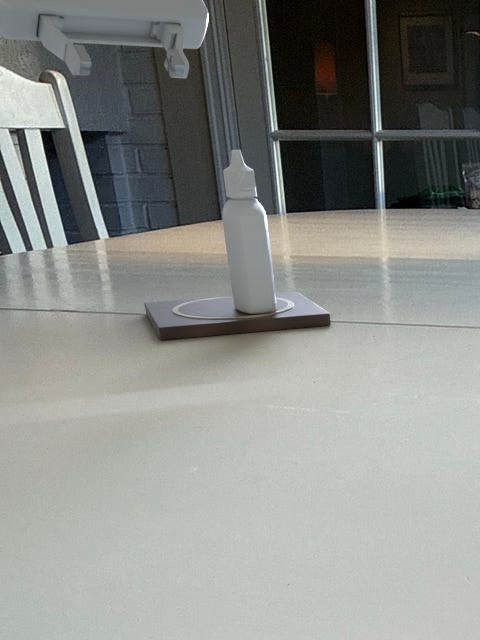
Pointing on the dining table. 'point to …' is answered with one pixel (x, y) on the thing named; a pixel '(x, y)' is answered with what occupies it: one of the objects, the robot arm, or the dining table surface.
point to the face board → (231, 316)
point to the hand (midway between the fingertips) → (133, 71)
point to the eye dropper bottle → (247, 241)
